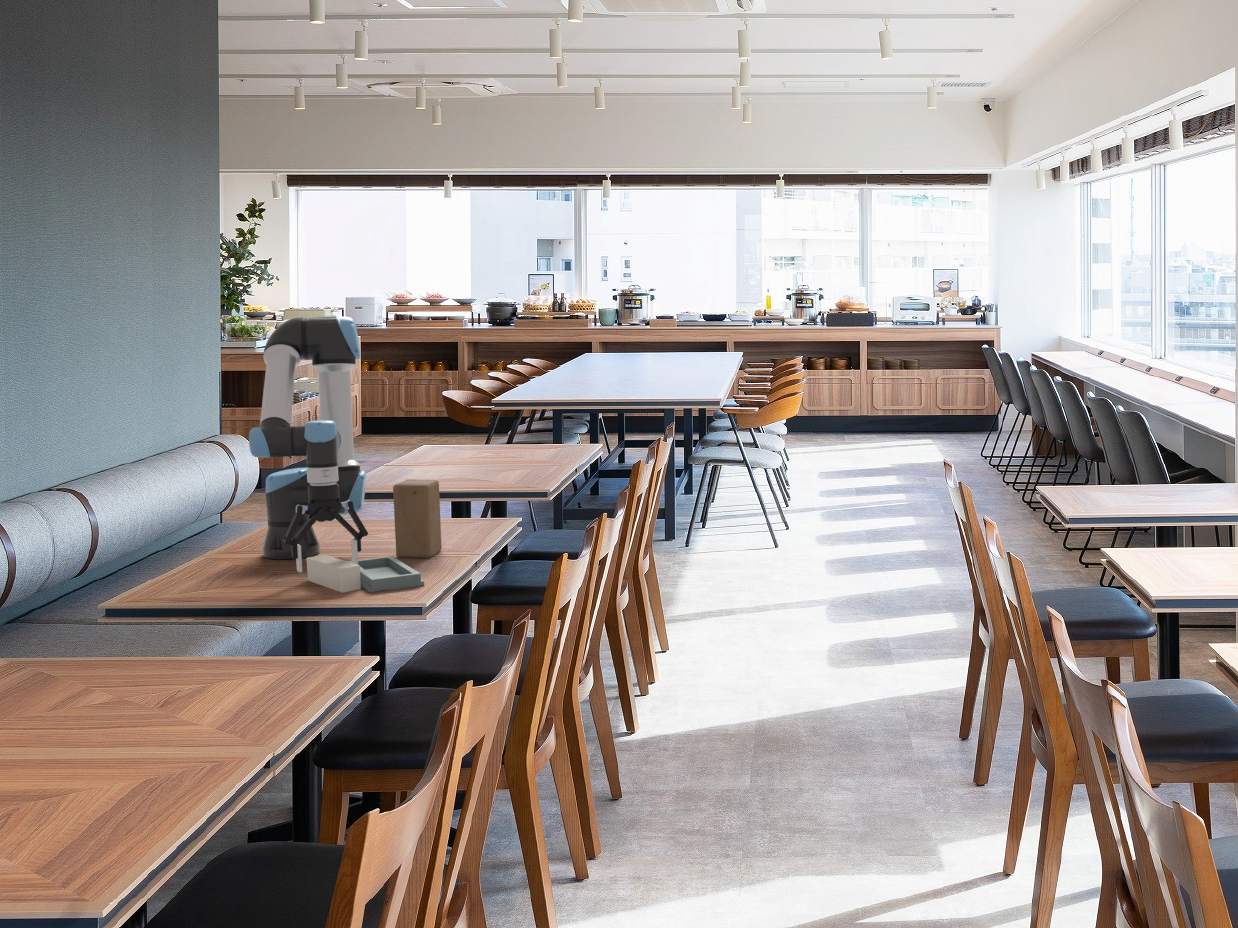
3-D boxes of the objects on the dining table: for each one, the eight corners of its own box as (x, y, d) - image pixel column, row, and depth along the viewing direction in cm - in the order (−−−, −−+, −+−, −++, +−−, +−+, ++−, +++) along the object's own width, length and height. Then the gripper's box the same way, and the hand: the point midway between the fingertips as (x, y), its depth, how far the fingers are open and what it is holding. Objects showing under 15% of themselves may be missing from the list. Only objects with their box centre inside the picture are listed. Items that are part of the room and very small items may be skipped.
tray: (343, 573, 316) (343, 561, 316) (395, 567, 322) (394, 555, 322) (369, 592, 295) (368, 580, 295) (424, 585, 301) (423, 573, 301)
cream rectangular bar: (307, 581, 309) (306, 557, 309) (326, 578, 313) (324, 554, 312) (342, 593, 296) (340, 568, 295) (360, 589, 299) (359, 565, 298)
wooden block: (430, 558, 332) (427, 484, 329) (394, 558, 334) (391, 484, 331) (443, 551, 341) (439, 479, 339) (408, 550, 343) (405, 478, 341)
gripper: (274, 489, 296) (279, 576, 299) (377, 480, 307) (381, 564, 310) (268, 486, 303) (272, 571, 305) (369, 477, 314) (373, 559, 317)
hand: (327, 568), depth 308 cm, fingers open, 13 cm apart
